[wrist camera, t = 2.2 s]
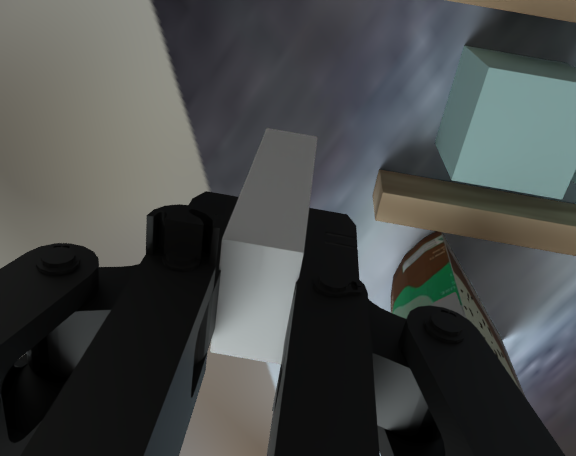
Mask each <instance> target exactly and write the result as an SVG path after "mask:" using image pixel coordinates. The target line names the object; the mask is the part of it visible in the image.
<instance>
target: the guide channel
mask: <svg viewBox="0 0 576 456" xmlns="http://www.w3.org/2000/svg"><path fill="white" fill-rule="evenodd" d="M448 1H454V2H460V3H465V4H471V5H477V6H483V7H488V8H494V9H500V10H506V11H511V12H517V13H523V14H529V15H534V16H540V17H546V18H552V19H557V20H563V21H569V22H575V23H576V0H448ZM373 203H374V212H375V220H376V221H382V222H387V223H393V224H399V225H404V226H410V227H416V228H421V229H427V230H432V231H438V232H444V233H449V234H455V235H461V236H466V237H472V238H477V239H483V240H489V241H494V242H500V243H506V244H511V245H517V246H523V247H528V248H534V249H539V250H545V251H551V252H556V253H562V254H568V255H573V256H576V204H572V203H567V202H561V201H555V200H550V199H544V198H539V197H533V196H527V195H522V194H516V193H510V192H505V191H499V190H493V189H488V188H482V187H476V186H471V185H465V184H459V183H454V182H448V181H442V180H437V179H431V178H425V177H420V176H414V175H408V174H403V173H397V172H391V171H386V170H380V169H379V172H378V176H377V180H376V184H375V188H374V192H373Z"/></svg>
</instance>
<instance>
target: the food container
mask: <svg viewBox="0 0 576 456" xmlns="http://www.w3.org/2000/svg"><path fill="white" fill-rule="evenodd" d="M428 305H431V306H437V307H444V308H447V309H449V310H452V311H455V312H457V313H459V314H460V315H462V316H463V317H465V318H467V319H468V320H470V321H471V322H472V323H473V324H474V326H475V327H476V328H477V329H478V330H479V331H480V333H481V334H482V335H483V337H484V338H485V340H486V341H487V343H488V344H489V346H490V347H491V349H492V350H493V351H494V353H495V354H496V356H497V357H498V359H499V360H500V362H501V363H502V365H503V366H504V367H505V369H506V370H507V372H508V373H509V375H510V376H511V378H512V379H513V381H514V382H515V383H516V385H517V386H518V388H519V389H520V391H521V392H522V394H523V395H524V393H523V390H522V388H521V385H520V383H519V380H518V378H517V375H516V373H515V370H514V368H513V366H512V363H511V361H510V358H509V356H508V353H507V351H506V348H505V346H504V344H503V341H502V339H501V337H500V336H499V334H498V332H497V330H496V328H495V326H494V325H493V323H492V321H491V319H490V317H489V316H488V314H487V312H486V310H485V308H484V307H483V305H482V303H481V301H480V299H479V298H478V296H477V294H476V292H475V290H474V289H473V287H472V285H471V283H470V281H469V280H468V278H467V276H466V274H465V272H464V271H463V269H462V267H461V265H460V263H459V262H458V260H457V258H456V256H455V254H454V253H453V251H452V249H451V247H450V245H449V244H448V242H447V240H446V238H445V236H444V235H443V233H442V232H438V231H436V232H434V233H432V234H431V235H429V236H427V237H425V238H423V239H422V240H421V241H420V242H419V243H418V244H417V245H416V246H414V247H413V248H412V249H411V250H410V251H409V252H408V253H407V254H406V255H405V256H404V257H403V259H402V261H401V263H400V265H399V267H398V268H397V270H396V272H395V274H394V276H393V283H392V290H391V313H393V314H395V315H398V316H400V317H403V318H405V319H407V316H408V314H409V312H410V311H411V310H413V309H415V308H417V307H420V306H428ZM524 397H525V395H524ZM525 398H526V397H525Z"/></svg>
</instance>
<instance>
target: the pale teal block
mask: <svg viewBox="0 0 576 456" xmlns="http://www.w3.org/2000/svg"><path fill="white" fill-rule="evenodd" d="M435 145H436V147H437V149H438V151H439V154H440V156H441V158H442V160H443V163H444V165H445V167H446V169H447V171H448V174H449V176H450V178H451V180H453V181H459V182H464V183H470V184H476V185H481V186H487V187H493V188H499V189H504V190H510V191H516V192H521V193H527V194H533V195H538V196H544V197H550V198H556V199H561V200H562V199H563V196H564V194H565V192H566V190H567V188H568V185H569V183H570V181H571V179H572V177H573V175H574V172H575V170H576V68H575V67H573V66H571V65H569V64H567V63H563V62H557V61H551V60H546V59H540V58H534V57H528V56H522V55H517V54H511V53H505V52H499V51H494V50H488V49H482V48H476V47H471V46H465V45H464V48H463V51H462V54H461V58H460V61H459V64H458V68H457V71H456V74H455V77H454V81H453V84H452V87H451V91H450V94H449V97H448V101H447V104H446V107H445V110H444V114H443V117H442V120H441V124H440V127H439V130H438V133H437V137H436V140H435Z"/></svg>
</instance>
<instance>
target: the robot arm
mask: <svg viewBox="0 0 576 456" xmlns="http://www.w3.org/2000/svg"><path fill="white" fill-rule="evenodd" d="M316 145H317V137H315V136H310V135H304V134H298V133H292V132H287V131H281V130H275V129H270V128H267V129H266V131H265V134H264V136H263V138H262V141H261V143H260V146H259V148H258V151H257V153H256V156H255V158H254V161H253V163H252V166H251V168H250V171H249V173H248V176H247V178H246V181H245V183H244V186H243V188H242V191H241V193H240V195H239V197H235V196H230V195H224V194H218V193H213V192H207V191H206V192H204V193H202V194H200V195H198V196H197V197H195V198H193V199H192V201H191V202H190V204H189V205H169V206H163V207H160V208H158V209H154V210H153V211H152V212H150V213H149V214H148V215H147V231H146V234H147V235H146V255H145V257H144V258H143V260H142V261H141V263H140V264H138V265H134V266H124V267H99V261H98V257H97V256H96V255H95V253H94V252H93V251H91V250H89V249H88V248H86V247H84V246H79V245H74V244H67V243H63V244H62V243H57V244H51V245H46V246H41V247H38V248H36V249H33V250H31V251H29V252H27V253H25V254H24V255H22V256H20V257H19V258H17V259H15V260H14V261H12V262H11V263H9V264H7V265H6V266H4V267H3V268H1V269H0V456H179V453H180V450H181V447H182V444H183V441H184V437H185V434H186V431H187V428H188V425H189V422H190V418H191V415H192V412H193V409H194V406H195V402H196V399H197V396H198V392H199V389H200V386H201V383H202V380H203V377H204V374H205V370H206V359H207V351H208V348H209V345H210V342H211V350H210V352H213V353H218V354H224V355H230V356H236V357H241V358H247V359H252V360H258V361H264V362H269V363H275V364H281V368H280V373H279V378H278V383H277V388H276V393H275V399H274V404H273V409H272V411H273V418H272V424H271V431H270V438H269V444H268V452H267V456H380V454H381V456H565V455H564V453H563V452H562V450H561V449H560V447H559V446H558V445H557V443H556V442H555V440H554V439H553V437H552V436H551V434H550V433H549V431H548V430H547V429H546V427H545V426H544V424H543V423H542V421H541V420H540V418H539V417H538V415H537V414H536V413H535V411H534V410H533V408H532V407H531V405H530V404H529V402H528V401H527V399H526V398H525V397H524V395H523V394H522V392H521V391H520V389H519V388H518V386H517V385H516V383H515V382H514V381H513V379H512V378H511V376H510V375H509V373H508V372H507V370H506V369H505V367H504V366H503V365H502V363H501V362H500V360H499V359H498V357H497V356H496V354H495V353H494V351H493V350H492V349H491V347H490V346H489V344H488V343H487V341H486V340H485V338H484V337H483V335H482V334H481V333H480V331H479V330H478V329H477V328H476V327H475V326H474V324H473V323H472V322H471V321H470V320H468V319H467V318H465V317H463V316H462V315H460V314H459V313H457V312H455V311H452V310H449V309H447V308H444V307H437V306H431V305H428V306H420V307H417V308H415V309H413V310H411V311H410V312H409V314H408V316H407V319H405V318H403V317H400V316H398V315H395V314H393V313H390V312H388V311H386V310H384V309H382V308H380V307H378V306H377V305H375V304H374V303H372V302H371V301H370V300H369V299H368V293H367V290H366V288H365V285H364V284H363V283H362V282H361V281H360V280H359V267H358V250H357V233H356V225H355V224H354V223H353V221H352V220H351V219H350V217H349V216H348V215H347V214H341V213H335V212H330V211H324V210H318V209H313V208H309V204H310V196H311V187H312V179H313V171H314V162H315V154H316ZM211 339H212V340H211ZM25 353H26V354H25ZM24 354H25V355H24ZM19 358H20V359H19ZM18 359H19V360H18ZM379 451H380V452H379Z"/></svg>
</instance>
